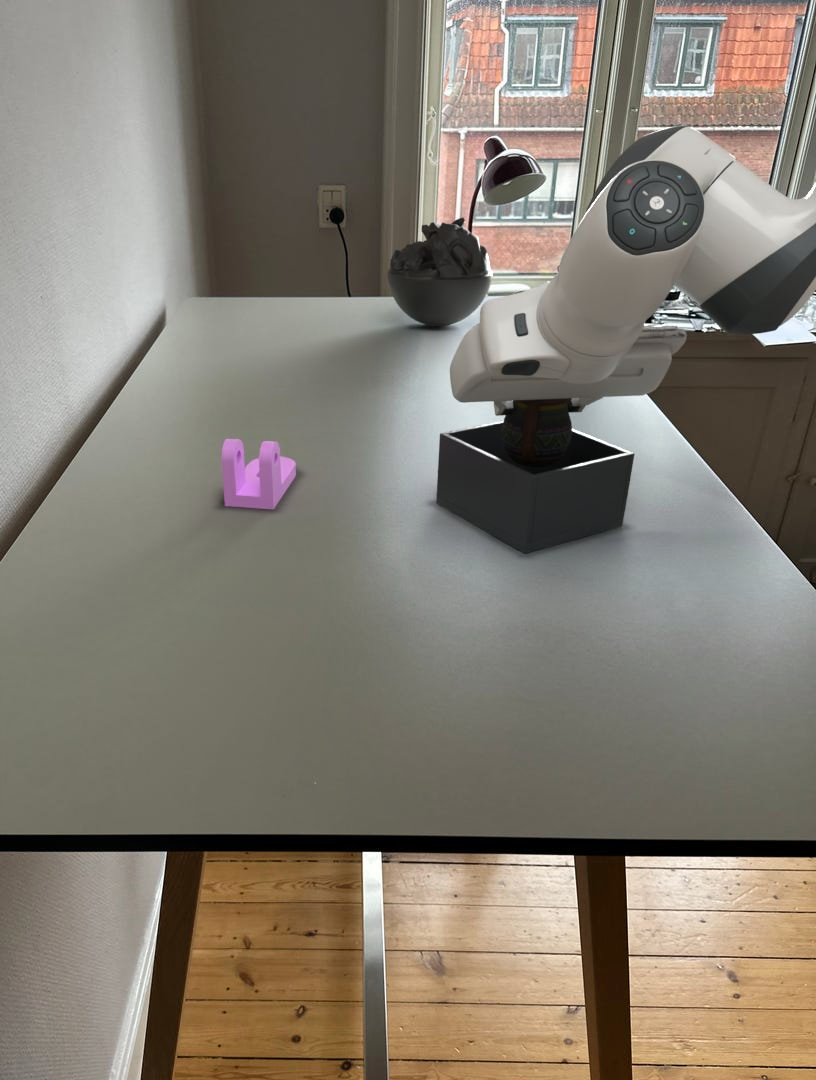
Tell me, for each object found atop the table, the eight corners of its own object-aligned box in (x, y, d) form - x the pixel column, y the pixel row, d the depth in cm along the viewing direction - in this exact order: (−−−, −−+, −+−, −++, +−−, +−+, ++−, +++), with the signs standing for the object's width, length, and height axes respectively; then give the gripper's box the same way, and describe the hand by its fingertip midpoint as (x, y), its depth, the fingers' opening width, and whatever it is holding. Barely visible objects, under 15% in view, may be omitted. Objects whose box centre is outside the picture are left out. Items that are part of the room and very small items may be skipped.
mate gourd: (562, 476, 92) (575, 376, 87) (488, 467, 94) (496, 368, 89) (574, 454, 98) (586, 358, 93) (504, 445, 100) (512, 352, 95)
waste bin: (528, 481, 108) (535, 414, 104) (622, 526, 96) (634, 453, 92) (435, 503, 102) (439, 433, 98) (524, 554, 91) (532, 477, 87)
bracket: (273, 509, 101) (271, 448, 97) (224, 506, 102) (220, 445, 98) (300, 468, 112) (299, 412, 108) (256, 465, 113) (253, 409, 109)
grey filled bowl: (421, 341, 168) (425, 229, 159) (367, 320, 184) (369, 218, 174) (509, 329, 176) (519, 222, 167) (451, 310, 191) (457, 212, 182)
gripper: (688, 295, 82) (629, 376, 96) (465, 301, 80) (436, 383, 94) (701, 358, 81) (639, 431, 94) (474, 366, 79) (443, 440, 92)
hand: (536, 407), depth 94 cm, fingers closed on mate gourd, 6 cm apart
